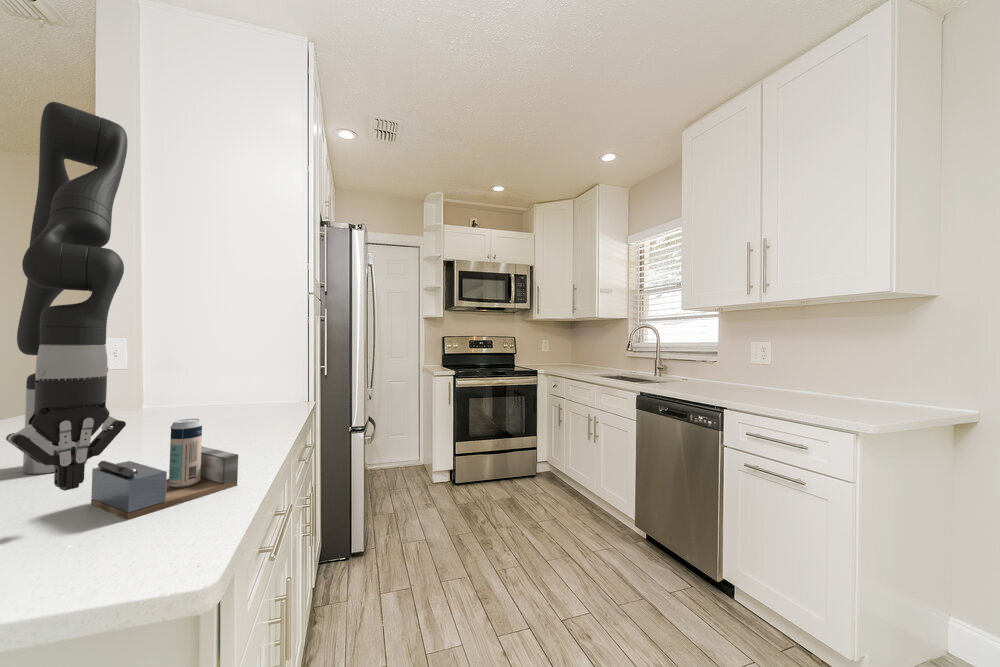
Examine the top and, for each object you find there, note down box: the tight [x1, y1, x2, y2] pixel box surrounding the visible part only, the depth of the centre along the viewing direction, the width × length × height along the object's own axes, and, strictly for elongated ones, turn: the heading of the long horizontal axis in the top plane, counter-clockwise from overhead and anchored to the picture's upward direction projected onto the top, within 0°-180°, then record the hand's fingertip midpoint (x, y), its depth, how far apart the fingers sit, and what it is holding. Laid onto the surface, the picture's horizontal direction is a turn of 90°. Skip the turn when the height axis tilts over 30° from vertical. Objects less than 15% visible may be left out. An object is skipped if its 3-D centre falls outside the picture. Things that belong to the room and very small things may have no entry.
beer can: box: [168, 418, 203, 488], centre depth 76 cm, size 5×5×12 cm
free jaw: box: [90, 460, 168, 513], centre depth 68 cm, size 12×5×6 cm, turn 65°
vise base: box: [90, 445, 239, 521], centre depth 73 cm, size 12×17×6 cm
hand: (68, 488), depth 61 cm, fingers closed
